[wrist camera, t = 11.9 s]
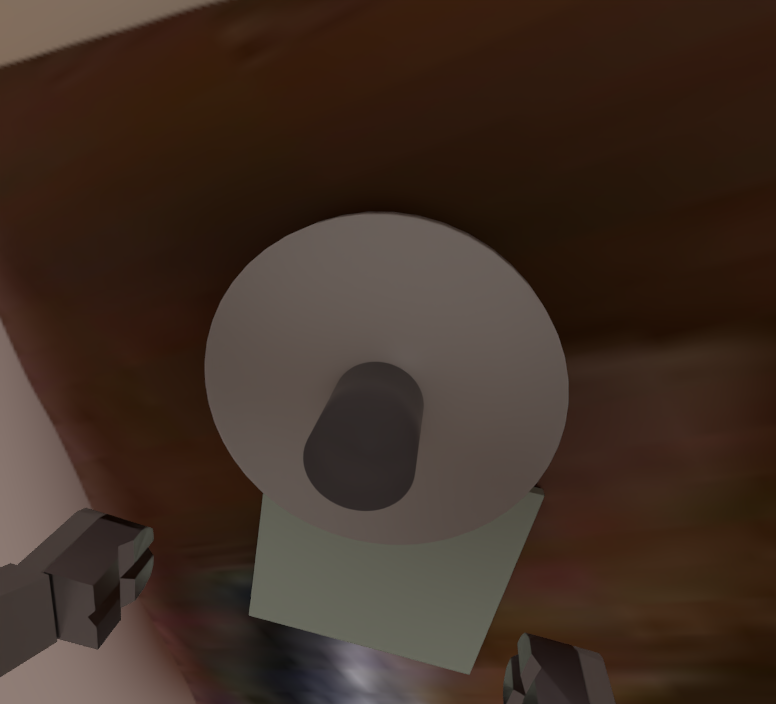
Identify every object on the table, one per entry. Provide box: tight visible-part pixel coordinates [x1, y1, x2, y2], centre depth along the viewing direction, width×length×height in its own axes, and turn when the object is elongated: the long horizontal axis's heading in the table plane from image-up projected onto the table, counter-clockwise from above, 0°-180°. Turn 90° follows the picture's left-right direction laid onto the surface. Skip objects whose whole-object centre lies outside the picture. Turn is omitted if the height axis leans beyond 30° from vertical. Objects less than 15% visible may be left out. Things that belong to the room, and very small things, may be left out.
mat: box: [249, 487, 545, 674], centre depth 30 cm, size 16×16×1 cm
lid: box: [205, 212, 569, 545], centre depth 17 cm, size 14×14×5 cm
